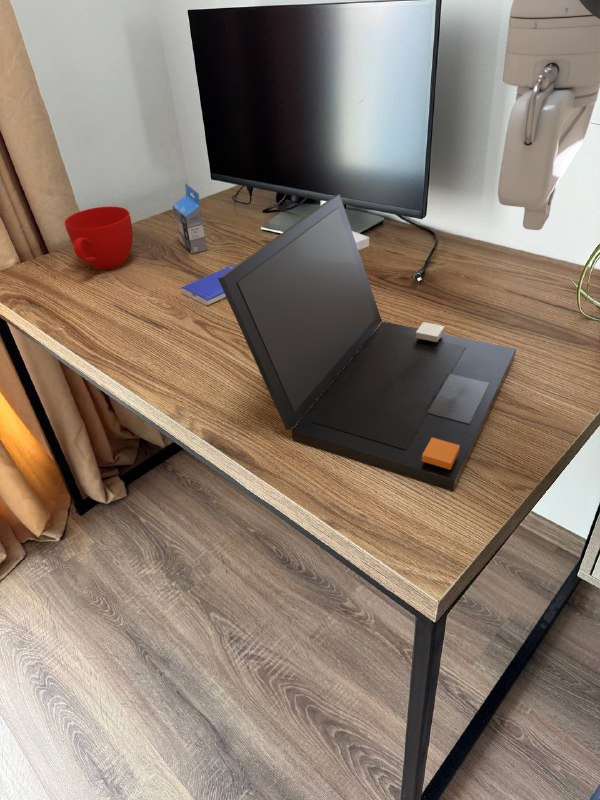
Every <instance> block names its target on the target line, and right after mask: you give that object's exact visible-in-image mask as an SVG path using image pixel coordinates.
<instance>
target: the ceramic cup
mask: <svg viewBox="0 0 600 800" xmlns="http://www.w3.org/2000/svg"><path fill="white" fill-rule="evenodd" d="M64 227H65V230H66V232H67V234H68V235H67V236H68V238H69V239H70V242H71V244H72V246H73V250H74V251H73V252H74V254H75V255H76V257H77V258H78V259H79V260H80V261H83V262H86V263H88V264H89V265H91V266H93V267H94V268H95V269H97V270H111V269H115V268H118V267H121V266H123V265H124V264H125V263H126V260H127V258H128V257H129V255H130V253H131V250H132V248H133V241H134V233H133V232H134V231H133V225H132V218H131V213H130V212H129V210H128V209H126V208H125V207H120V206H110V205H109V206H97V207H92V208H87V209H83V210H80V211H78V212H75V213H73V214H71V215H70V216H68V217H67V218H66V219H65V220H64Z"/></svg>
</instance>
